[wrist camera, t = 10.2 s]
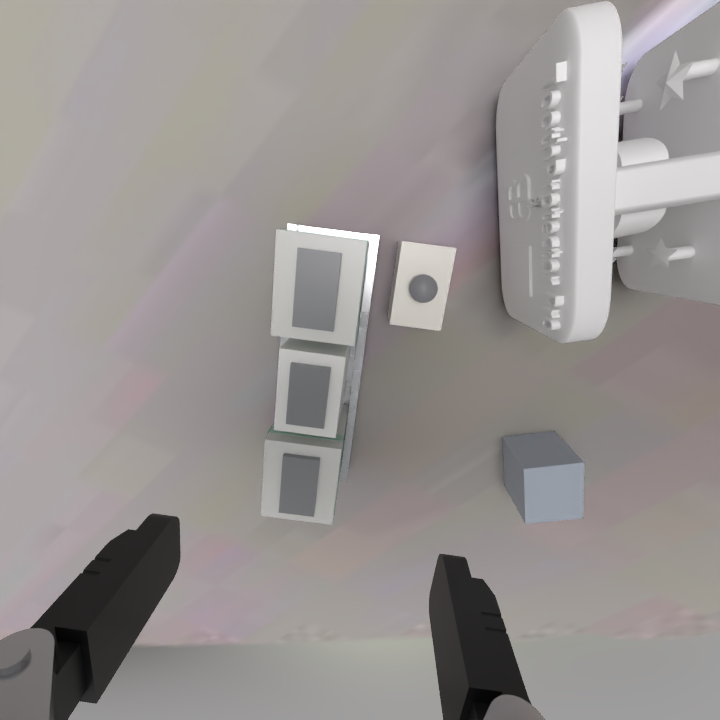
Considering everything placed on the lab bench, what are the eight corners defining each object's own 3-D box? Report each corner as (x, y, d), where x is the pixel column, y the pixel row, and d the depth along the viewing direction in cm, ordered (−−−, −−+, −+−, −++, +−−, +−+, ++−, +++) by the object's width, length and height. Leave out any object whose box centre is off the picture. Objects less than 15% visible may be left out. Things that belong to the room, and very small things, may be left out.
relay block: (553, 430, 33) (584, 462, 28) (553, 479, 34) (583, 518, 29) (502, 436, 33) (523, 469, 28) (504, 485, 34) (525, 523, 30)
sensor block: (445, 247, 28) (459, 248, 24) (432, 319, 30) (443, 334, 25) (398, 241, 28) (403, 241, 24) (387, 314, 30) (390, 327, 25)
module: (352, 331, 29) (345, 359, 22) (343, 396, 31) (335, 441, 24) (301, 324, 29) (277, 349, 22) (295, 389, 31) (272, 432, 24)
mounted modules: (369, 240, 27) (368, 240, 20) (340, 468, 33) (332, 529, 26) (299, 231, 27) (273, 227, 20) (283, 460, 33) (258, 520, 26)
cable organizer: (632, 293, 29) (792, 325, 18) (492, 313, 30) (563, 354, 19) (646, 65, 25) (870, -81, 14) (482, 95, 25) (567, -21, 14)
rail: (379, 235, 28) (379, 235, 26) (348, 465, 34) (346, 481, 32) (294, 224, 28) (287, 223, 26) (278, 456, 34) (271, 472, 32)
